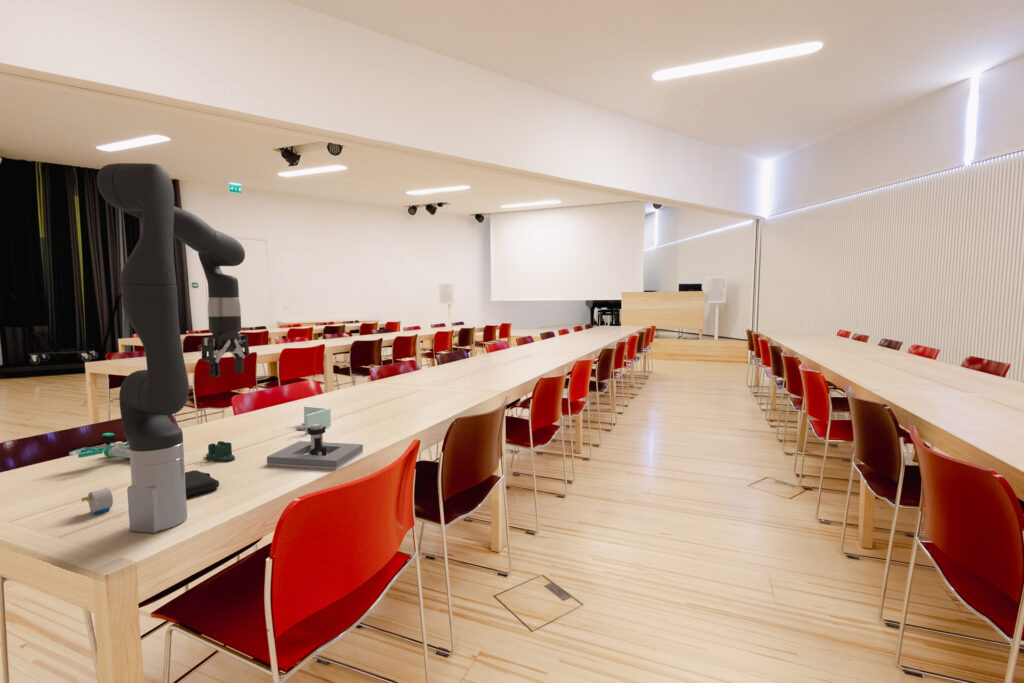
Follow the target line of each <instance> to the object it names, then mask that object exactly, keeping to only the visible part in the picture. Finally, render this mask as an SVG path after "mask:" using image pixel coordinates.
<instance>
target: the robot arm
mask: <svg viewBox="0 0 1024 683" xmlns="http://www.w3.org/2000/svg"><path fill="white" fill-rule="evenodd" d="M96 185H97V189H98V191H99V193H100V195H101V196H102V198H103V199H104V200H105V201H106V202H107V203H108V204H109V205H111V206H112V207H114V208H116V210H117V209H118V210H120V211H121V212H124V213H126V214H129V215H131V216H133V217H136V218H137V219H139V220H142V221H141V222H142V224H141V226H142V227H141V233H140V236H139V239H138V241H137V243H136V245H135V247H134V248H133V250H132V251H131V254H130V255H129V256H128V258H127V259H126V261H125V264H124V265H123V267H122V270H121V273H120V280H119V282H120V293H121V303H122V308H123V312H124V314H125V317H126V319H127V320H128V322H129V324H130V325H131V327H132V328H133V330H134V332H135V333H136V335H137V337H138V339H139V340H140V342H141V344H142V346H143V349H144V353H145V361H146V362H145V363H146V369H140V370H135V371H133V372H131V373H130V374H128V375H127V376H126V377H125V378H124V380H123V381H122V382H121V385H120V389H119V396H118V397H119V398H118V401H119V409H120V418H121V425H122V431H123V434H124V437H125V438H126V440H127V441H128V442H129V449H130V458H129V462H130V463H129V464H130V478H131V485H129V486H127V489H126V491H127V505H128V520H129V523H128V524H129V531H130V532H137V533H148V534H149V533H150V534H156V533H158V532H160V531H164V530H168V529H170V528H174V527H176V526H178V525H180V524H183V522H185V521H186V520H187V519H188V504H187V499H186V484H185V471H186V470H185V451H184V450H185V449H184V435H183V430H182V429H181V427H179V426H178V425H177V424H175V423H173V421H172V420H171V418H169V416H171V415H175V414H177V413H179V412H180V411H182V409H184V407H185V405H186V404H187V402H188V399H189V395H190V385H189V378H188V372H187V367H186V363H185V358H184V352H183V347H182V340H181V339H182V338H181V330H180V321H179V306H178V305H179V304H178V301H179V300H178V297H179V296H178V287H177V278H176V277H177V276H176V267H175V254H174V253H175V252H174V238H176V239H177V240H179V241H180V242H181V243H183V244H185V245H186V246H188V248H189V247H190V249H192V250H194V251H195V252H197V256H198V258H199V262H200V264H201V266H202V269H203V272H204V276H205V278H206V281H207V292H208V302H207V314H208V315H207V317H208V318H207V319H208V332H209V333H211V334H212V335H211V337H202V338H201V361H202V362H208V365H209V374H210V375H209V376H210V377H212V378H219V377H220V376H221V368H220V364H221V363H220V360H221V358H222V357H223V356H224V355H225V354H226V353H230V354H231V355H232V357H233V358H234V359H233V366H234V370H233V371H234V372H235V373H243V372H244V359H245V358H246V357H248V356H249V355H250V349H249V348H250V345H249V336H248V335H247V334H239V332H242V314H241V313H242V312H241V310H242V309H241V303H240V296H239V295H240V294H239V292H240V291H239V290H240V288H239V280H238V278H237V277H236V276H233V275H229V274H225V273H223V271H222V270H221V267H236V266H237V267H238V266H240V265H241V264H242V263H243V262H244V260H245V258H246V252H245V249H244V247H243V245H242V243H240V242H239V241H238V240H237V239H236V238H234V237H232V236H231V235H228V234H226V233H223V232H222V231H219V230H216V229H215V228H213V227H212V226H211V225H209V224H208V223H207V222H206V221H205V220H204V219H202V218H200V216H198V215H196V214H193V213H192V212H189V211H188V210H185V209H182V208H180V207H177V206H175V191H174V190H175V189H174V184H173V182H172V178H171V176H170V174H169V173H168V171H167V170H166V169H165V168H164V167H163V166H162V165H160V164H157V163H156V164H155V163H148V162H147V163H146V162H145V163H144V162H143V163H140V162H138V163H137V162H136V163H135V162H133V163H132V162H131V163H130V162H129V163H128V162H127V163H126V162H124V163H123V162H122V163H121V162H119V163H117V162H116V163H110V164H106V165H103V166H102V167H100V169H99V170H98V172H97V175H96Z"/></svg>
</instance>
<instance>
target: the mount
mask: <svg viewBox="0 0 1024 683" xmlns="http://www.w3.org/2000/svg"><path fill="white" fill-rule="evenodd" d="M207 447H208V448H207V450H208V453H206V454H205V456H206V458H207V460H209V461H213V462H219V463H223V462H224V463H229V462H233V461H236V456H235V455H233V450H232V447H233V446H232V442H227V441H226V442H225V441H222V440H220V441H217V443H209V444H208V445H207Z"/></svg>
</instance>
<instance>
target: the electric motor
mask: <svg viewBox="0 0 1024 683" xmlns="http://www.w3.org/2000/svg"><path fill="white" fill-rule="evenodd" d="M112 494H113V493H112V491H111V489H110V488H109V487H106V488H101V489H97V490H93V491H90V492H89V493H88V495H87V496H85V497H81V498H80V499H81V502H87V503H88V507H89V509H90V510H89V511H90V514H91V515H93V516H96V515H99V514H102V513H106V512H109V511H110V509H111V508H112V507H113V503H114V500H113V495H112Z"/></svg>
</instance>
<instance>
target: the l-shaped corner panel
mask: <svg viewBox="0 0 1024 683" xmlns="http://www.w3.org/2000/svg"><path fill="white" fill-rule="evenodd" d="M331 416H332V415H331V408H329V407H327V408H326V407H321V406H320V407H319V406H318V407H317V406H309V405H305V406H303V418H304V419H303V421H304V422H303V423H300V424H298V425H297V430H298V431H305V435H309V434H308V431H307V428H309V427H310V425H311V424H316V423H321V424H323V426H325V427H326V429H327V428H329V427H331V426H332V420H331Z"/></svg>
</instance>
